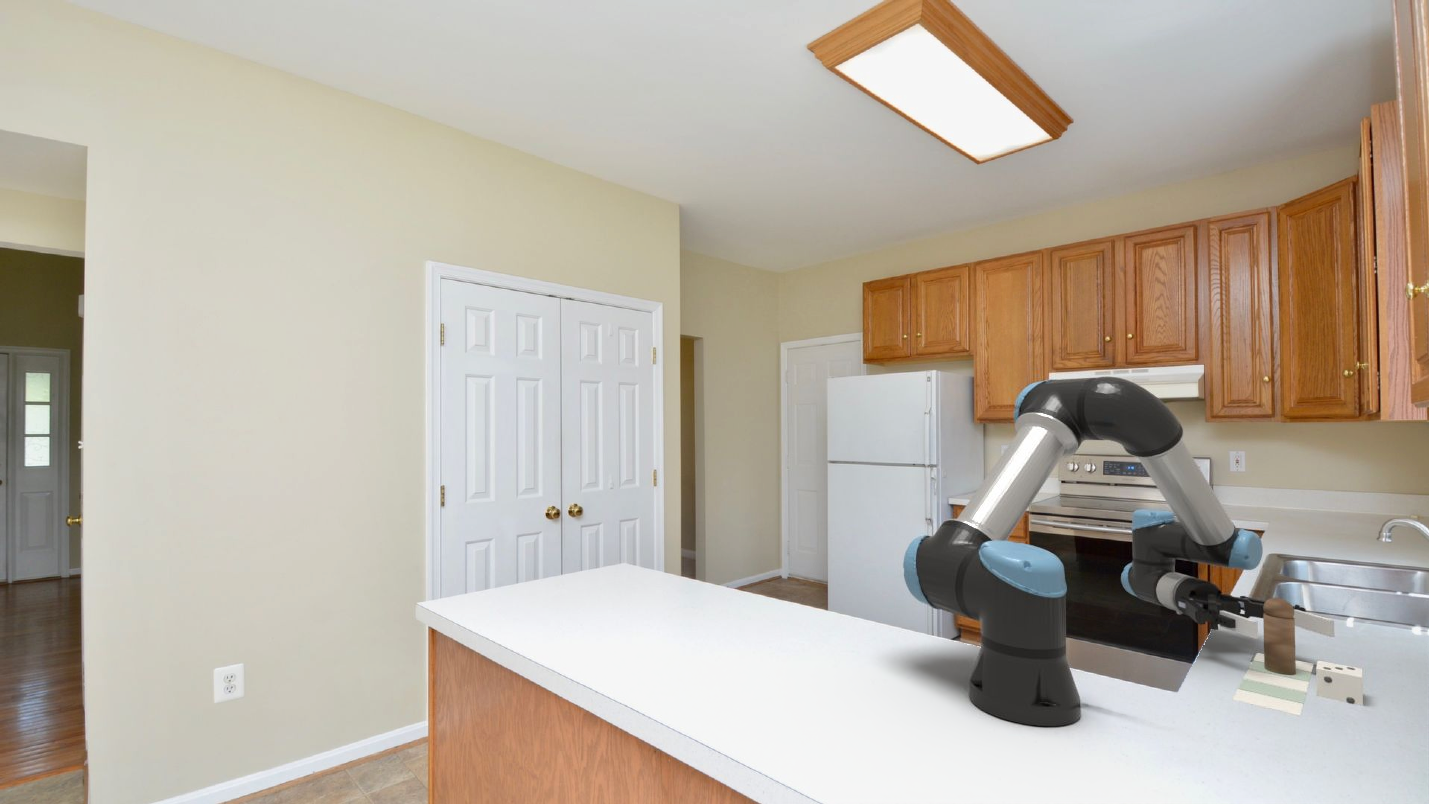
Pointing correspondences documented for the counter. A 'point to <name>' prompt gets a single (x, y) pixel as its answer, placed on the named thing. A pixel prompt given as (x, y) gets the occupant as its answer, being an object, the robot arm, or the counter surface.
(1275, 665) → the pawn
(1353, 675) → the die
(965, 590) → the robot arm
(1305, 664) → the board
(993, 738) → the counter surface
